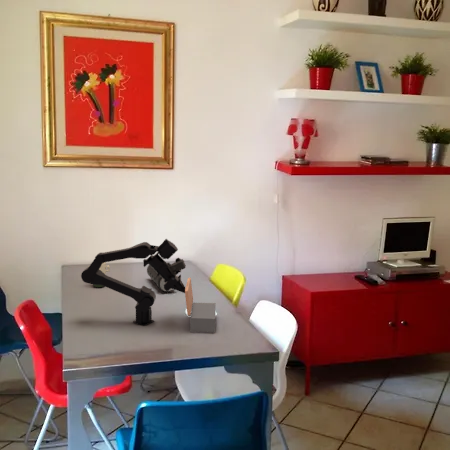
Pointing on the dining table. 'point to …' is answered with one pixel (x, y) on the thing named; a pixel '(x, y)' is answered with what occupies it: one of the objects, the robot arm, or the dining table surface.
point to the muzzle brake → (156, 278)
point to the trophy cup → (103, 269)
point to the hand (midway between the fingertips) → (186, 292)
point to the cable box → (203, 318)
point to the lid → (189, 297)
